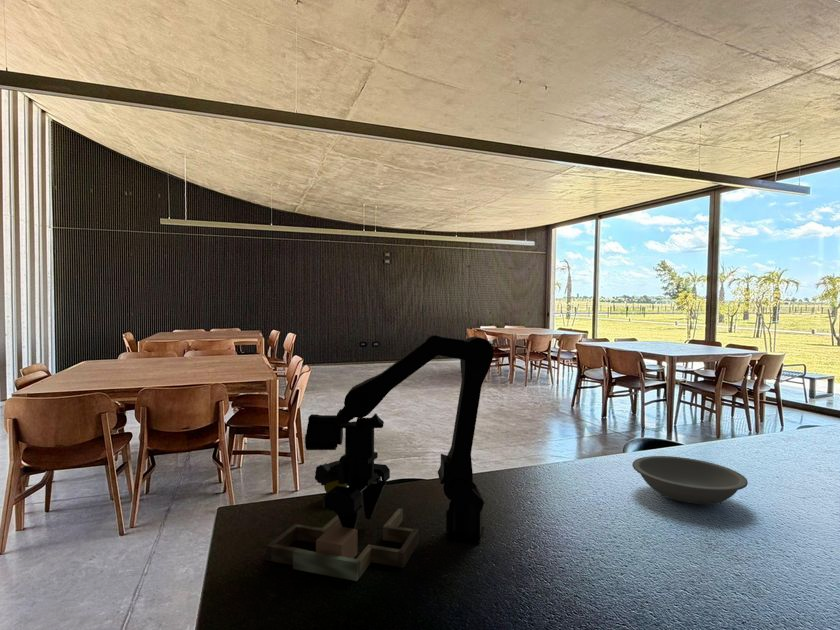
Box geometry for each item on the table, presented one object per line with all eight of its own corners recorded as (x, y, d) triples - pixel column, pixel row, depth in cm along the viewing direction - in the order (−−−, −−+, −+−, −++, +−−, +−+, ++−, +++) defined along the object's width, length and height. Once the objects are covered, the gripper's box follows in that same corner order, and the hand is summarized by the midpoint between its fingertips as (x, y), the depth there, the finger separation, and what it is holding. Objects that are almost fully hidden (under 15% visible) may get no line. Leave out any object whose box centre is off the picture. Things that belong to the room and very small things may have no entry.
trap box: (429, 524, 93) (429, 510, 93) (391, 587, 71) (391, 568, 71) (327, 509, 100) (327, 496, 100) (262, 563, 78) (263, 545, 78)
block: (357, 554, 81) (357, 529, 81) (341, 571, 75) (341, 545, 75) (332, 549, 82) (333, 525, 83) (315, 566, 77) (316, 540, 77)
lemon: (342, 504, 103) (342, 470, 103) (319, 502, 104) (320, 468, 104) (350, 495, 108) (351, 462, 108) (329, 493, 109) (329, 461, 109)
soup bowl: (636, 508, 102) (636, 480, 102) (629, 475, 124) (629, 451, 124) (763, 527, 93) (763, 496, 93) (731, 488, 115) (731, 462, 115)
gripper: (344, 434, 99) (343, 504, 99) (297, 459, 81) (297, 545, 81) (390, 438, 96) (390, 511, 96) (353, 465, 78) (352, 555, 78)
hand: (359, 528), depth 88 cm, fingers open, 9 cm apart
